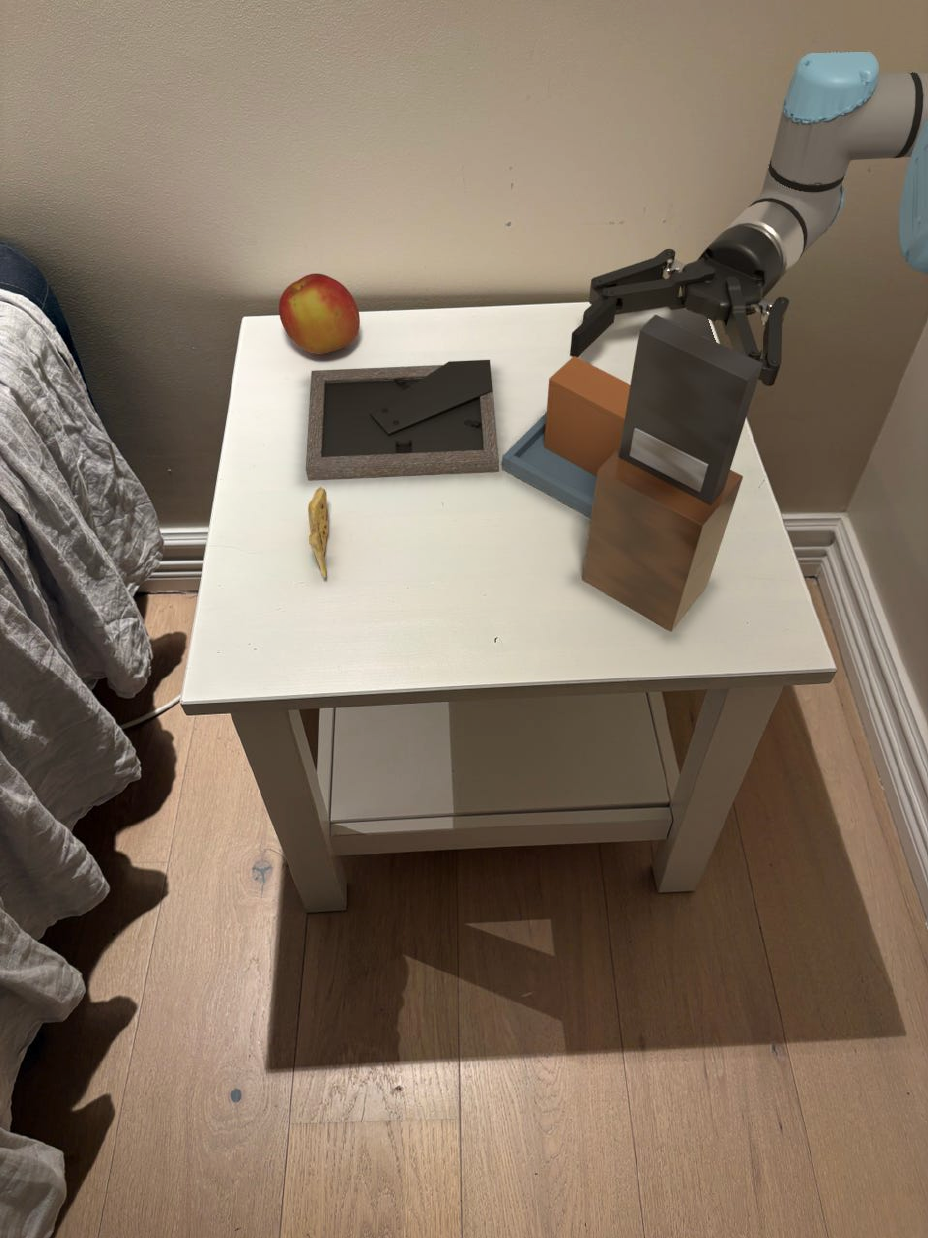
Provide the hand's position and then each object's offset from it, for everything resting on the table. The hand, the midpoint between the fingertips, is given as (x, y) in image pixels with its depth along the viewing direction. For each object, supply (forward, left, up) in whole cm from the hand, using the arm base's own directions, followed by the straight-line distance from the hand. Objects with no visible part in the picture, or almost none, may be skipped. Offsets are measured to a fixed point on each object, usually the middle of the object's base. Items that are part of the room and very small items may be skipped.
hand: (636, 376), depth 88 cm
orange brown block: (0, +5, -6) cm, 8 cm away
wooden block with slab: (-11, +14, -7) cm, 19 cm away
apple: (+32, +8, -7) cm, 34 cm away
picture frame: (+18, +12, -7) cm, 23 cm away
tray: (0, +5, -7) cm, 9 cm away
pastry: (+14, +28, -7) cm, 32 cm away
